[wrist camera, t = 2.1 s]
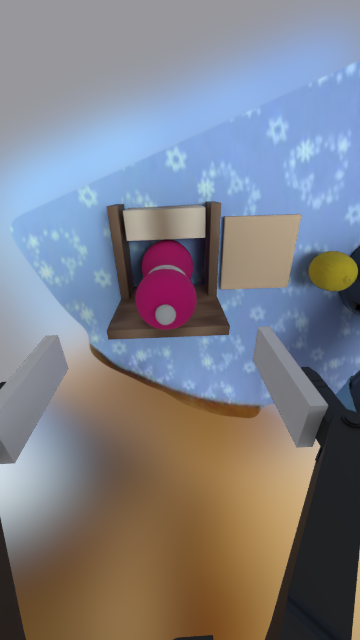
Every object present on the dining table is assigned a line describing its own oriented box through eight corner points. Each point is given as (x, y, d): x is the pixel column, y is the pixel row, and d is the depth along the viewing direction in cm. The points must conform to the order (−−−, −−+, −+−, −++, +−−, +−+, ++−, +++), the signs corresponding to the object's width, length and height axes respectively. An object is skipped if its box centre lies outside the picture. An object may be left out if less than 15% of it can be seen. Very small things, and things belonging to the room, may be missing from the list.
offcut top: (202, 206, 32) (205, 207, 29) (202, 233, 33) (205, 237, 31) (127, 209, 31) (122, 210, 29) (130, 237, 33) (126, 241, 30)
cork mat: (298, 214, 35) (301, 214, 34) (285, 285, 40) (287, 287, 39) (224, 216, 35) (225, 217, 34) (220, 287, 40) (221, 289, 39)
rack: (214, 201, 34) (239, 206, 21) (211, 290, 40) (229, 334, 28) (115, 204, 34) (82, 211, 21) (127, 294, 40) (108, 339, 28)
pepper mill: (147, 282, 39) (127, 356, 21) (142, 236, 36) (114, 279, 18) (191, 280, 39) (207, 352, 22) (190, 234, 36) (209, 275, 18)
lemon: (295, 279, 40) (322, 298, 33) (305, 245, 37) (337, 257, 30) (326, 281, 40) (360, 300, 33) (339, 247, 37) (378, 260, 30)
